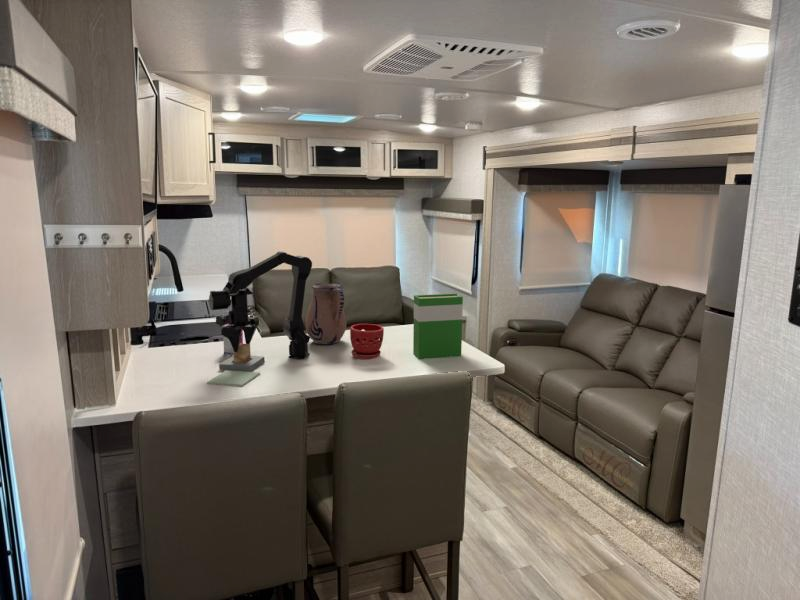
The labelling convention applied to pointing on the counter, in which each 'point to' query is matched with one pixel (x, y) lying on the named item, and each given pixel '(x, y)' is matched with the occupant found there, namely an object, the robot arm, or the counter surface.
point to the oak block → (242, 354)
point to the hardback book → (437, 326)
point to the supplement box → (227, 345)
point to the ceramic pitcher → (326, 314)
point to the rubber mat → (233, 378)
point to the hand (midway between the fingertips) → (241, 348)
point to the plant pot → (366, 340)
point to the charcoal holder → (242, 364)
